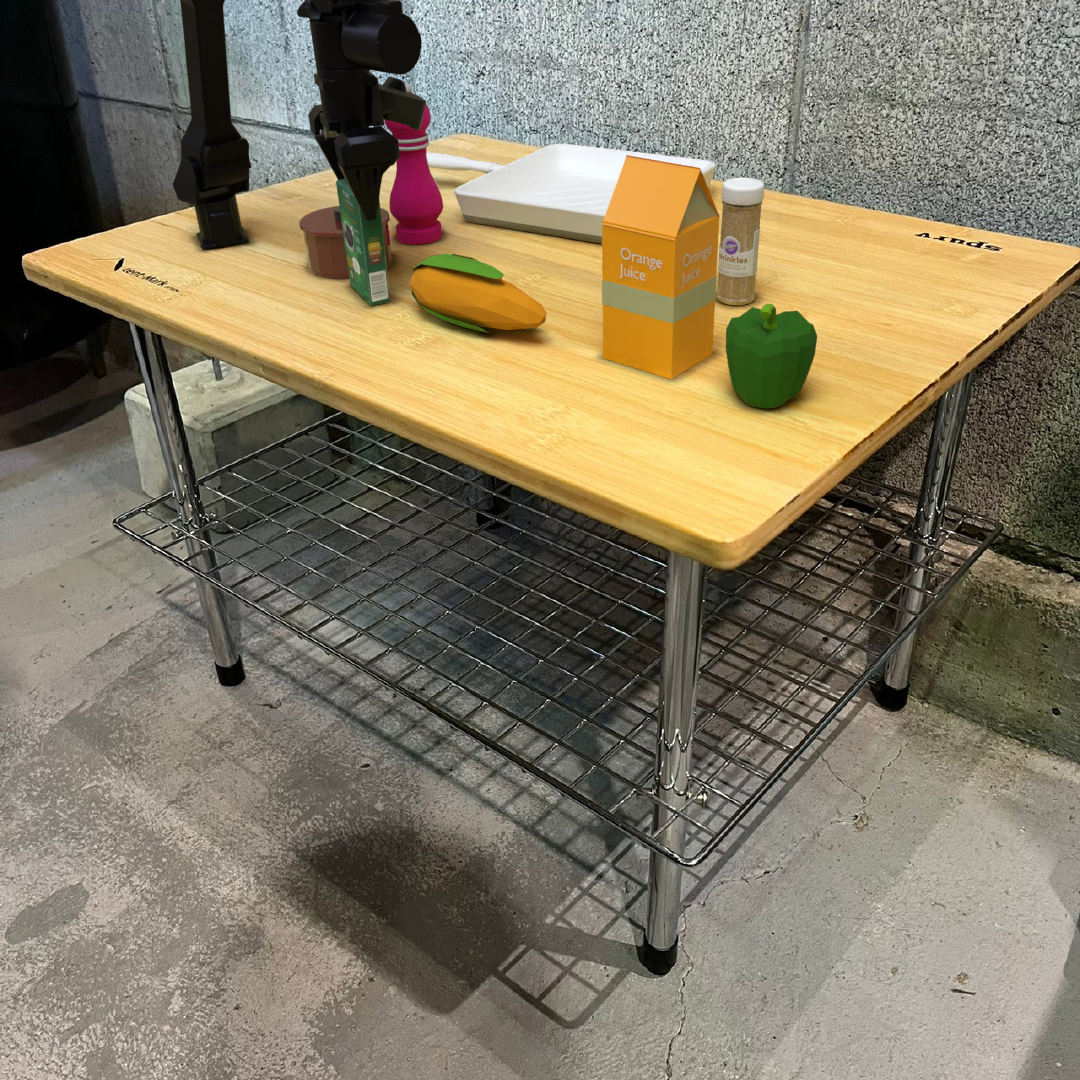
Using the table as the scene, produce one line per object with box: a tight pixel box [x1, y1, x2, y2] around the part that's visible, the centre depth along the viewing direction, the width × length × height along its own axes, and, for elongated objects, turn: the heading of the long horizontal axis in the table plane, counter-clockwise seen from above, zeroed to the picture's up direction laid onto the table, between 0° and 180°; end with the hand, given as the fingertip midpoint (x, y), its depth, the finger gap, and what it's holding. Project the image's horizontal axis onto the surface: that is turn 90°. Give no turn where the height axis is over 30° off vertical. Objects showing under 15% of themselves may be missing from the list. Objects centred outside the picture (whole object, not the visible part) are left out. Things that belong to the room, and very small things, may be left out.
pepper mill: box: [384, 81, 444, 246], centre depth 144 cm, size 7×7×20 cm
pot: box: [302, 222, 393, 280], centre depth 140 cm, size 11×11×6 cm
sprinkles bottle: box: [716, 177, 765, 306], centre depth 123 cm, size 5×5×14 cm
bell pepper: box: [725, 303, 818, 409], centre depth 103 cm, size 8×8×10 cm
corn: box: [409, 253, 547, 334], centre depth 121 cm, size 7×8×20 cm
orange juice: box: [601, 155, 721, 380], centre depth 109 cm, size 8×9×20 cm
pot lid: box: [298, 205, 391, 237], centre depth 138 cm, size 11×11×2 cm
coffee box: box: [335, 179, 391, 307], centre depth 129 cm, size 8×3×13 cm, turn 26°
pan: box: [426, 143, 717, 245], centre depth 159 cm, size 28×45×5 cm, turn 58°
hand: (361, 209), depth 126 cm, fingers open, 9 cm apart
